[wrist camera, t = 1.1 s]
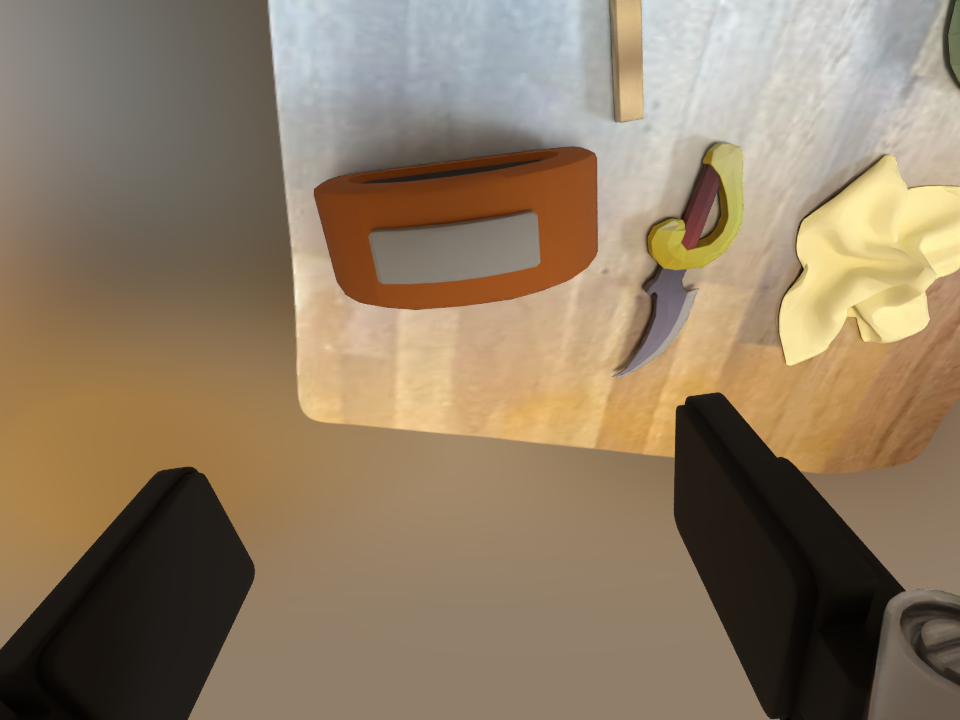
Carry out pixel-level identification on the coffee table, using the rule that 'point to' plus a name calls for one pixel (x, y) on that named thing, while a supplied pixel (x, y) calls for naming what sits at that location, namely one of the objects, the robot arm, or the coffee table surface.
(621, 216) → the coffee table surface
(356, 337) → the coffee table surface
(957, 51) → the bowl
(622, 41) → the wooden block
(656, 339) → the knife
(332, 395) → the coffee table surface
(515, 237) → the orange oval container
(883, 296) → the cloth
